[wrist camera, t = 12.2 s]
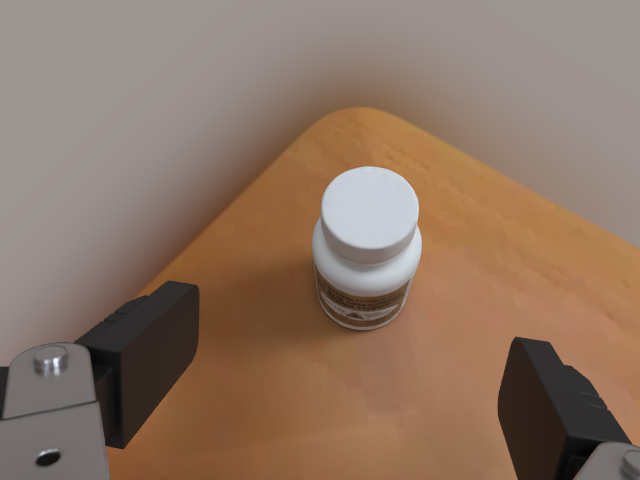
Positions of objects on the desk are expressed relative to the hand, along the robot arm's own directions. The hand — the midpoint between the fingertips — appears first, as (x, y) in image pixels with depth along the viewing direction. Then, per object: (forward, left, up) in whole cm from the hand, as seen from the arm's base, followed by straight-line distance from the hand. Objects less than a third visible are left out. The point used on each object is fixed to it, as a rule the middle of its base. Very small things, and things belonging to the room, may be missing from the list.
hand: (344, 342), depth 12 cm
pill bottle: (0, +6, -10) cm, 12 cm away
